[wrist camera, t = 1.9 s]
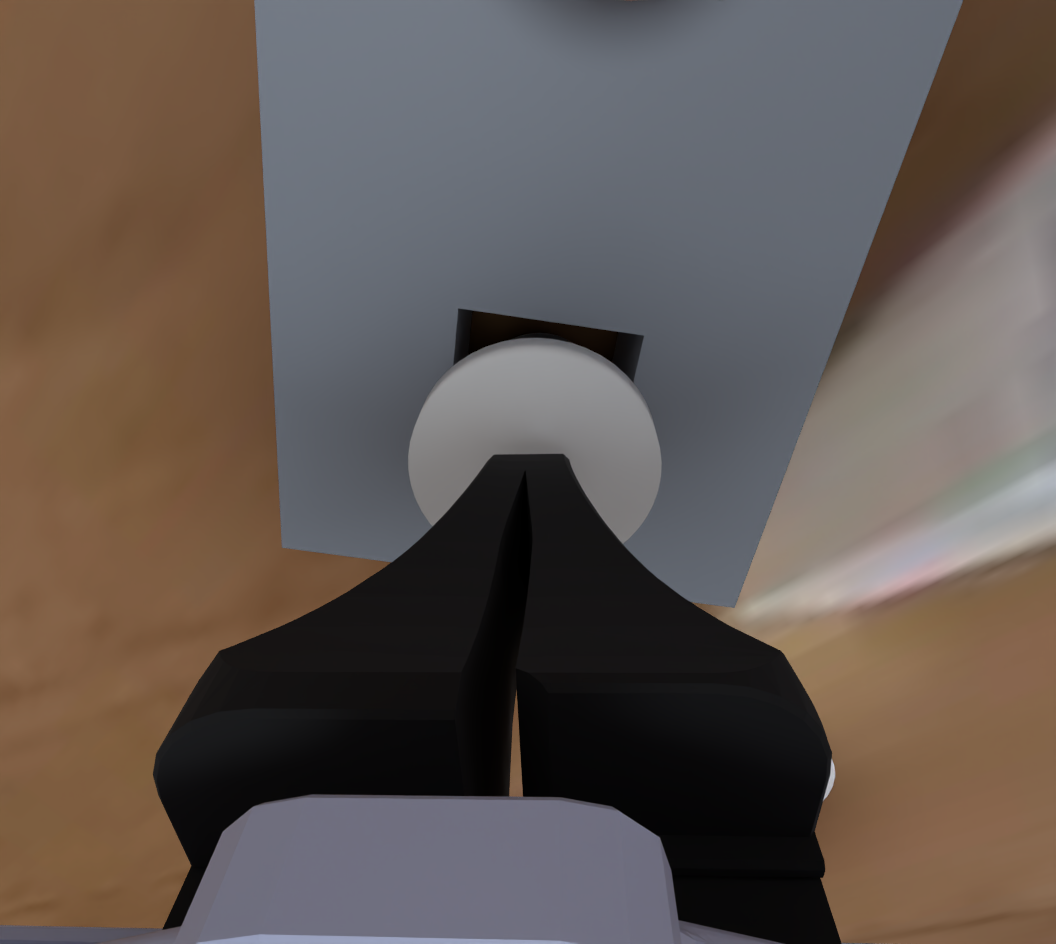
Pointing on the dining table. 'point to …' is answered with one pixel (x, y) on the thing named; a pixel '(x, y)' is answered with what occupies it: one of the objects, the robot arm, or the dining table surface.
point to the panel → (574, 230)
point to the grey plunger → (538, 426)
